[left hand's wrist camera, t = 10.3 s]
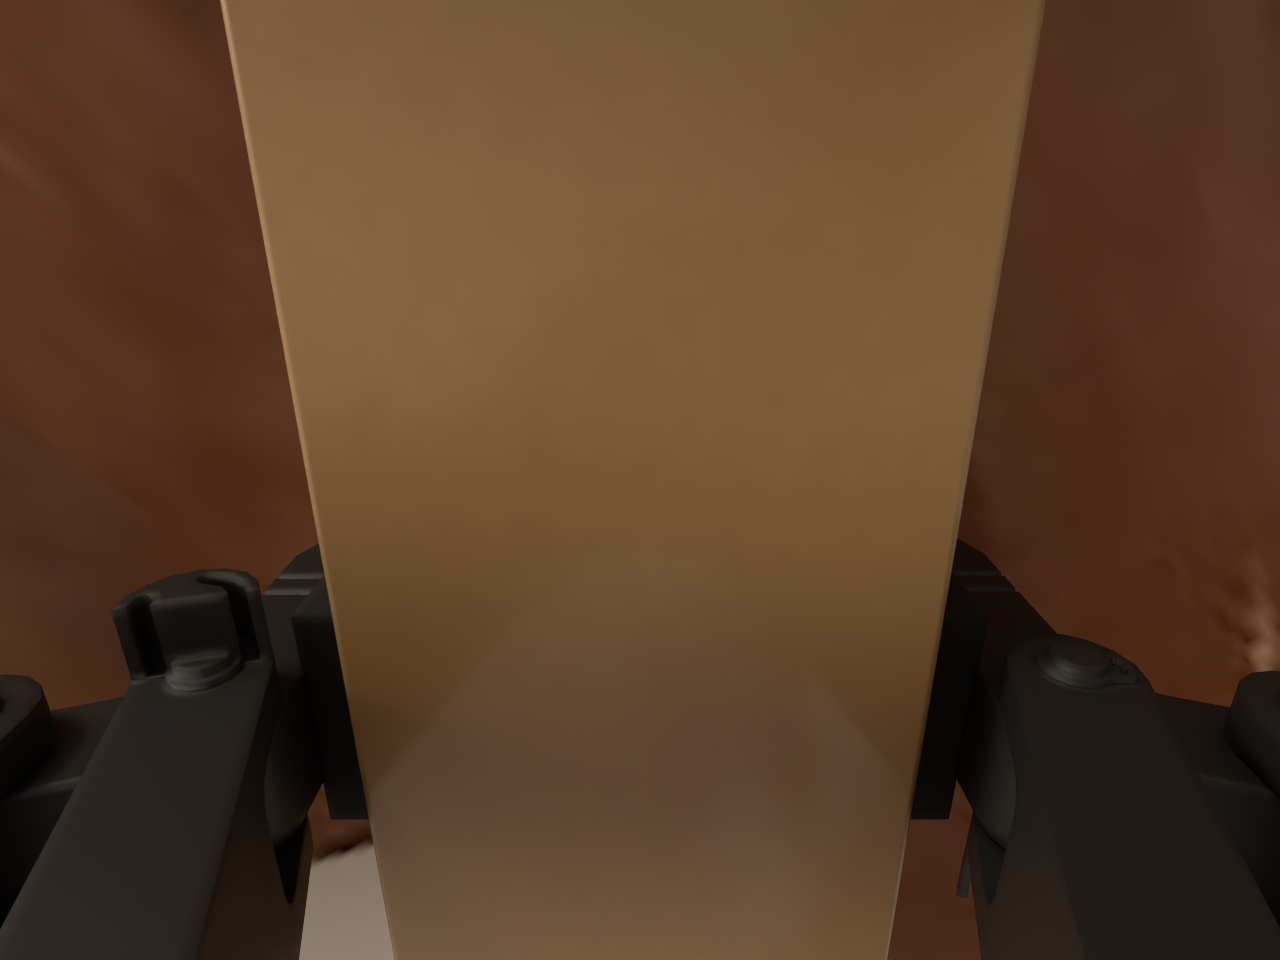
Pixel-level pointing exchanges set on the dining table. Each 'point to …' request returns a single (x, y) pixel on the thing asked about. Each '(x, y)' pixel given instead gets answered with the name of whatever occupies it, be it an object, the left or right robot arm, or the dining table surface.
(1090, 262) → the dining table surface
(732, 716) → the post
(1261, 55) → the dining table surface
